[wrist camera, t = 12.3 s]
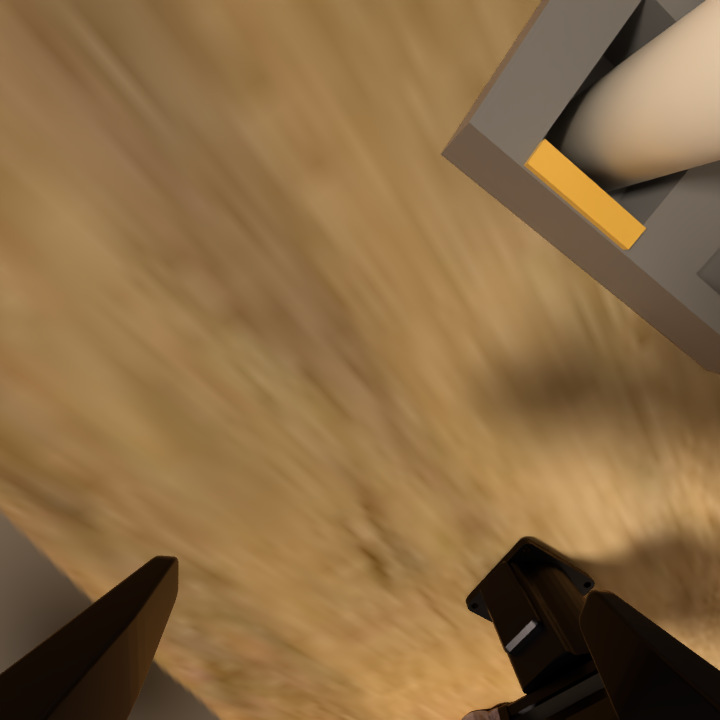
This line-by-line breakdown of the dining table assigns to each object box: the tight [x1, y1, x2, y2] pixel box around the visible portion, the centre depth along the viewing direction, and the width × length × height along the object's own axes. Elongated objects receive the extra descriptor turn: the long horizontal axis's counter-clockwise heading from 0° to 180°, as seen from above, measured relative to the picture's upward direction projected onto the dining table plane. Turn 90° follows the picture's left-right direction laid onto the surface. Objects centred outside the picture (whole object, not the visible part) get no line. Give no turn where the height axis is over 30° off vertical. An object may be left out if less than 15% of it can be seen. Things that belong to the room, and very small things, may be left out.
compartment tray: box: [441, 0, 720, 374], centre depth 16 cm, size 20×8×4 cm, turn 56°
